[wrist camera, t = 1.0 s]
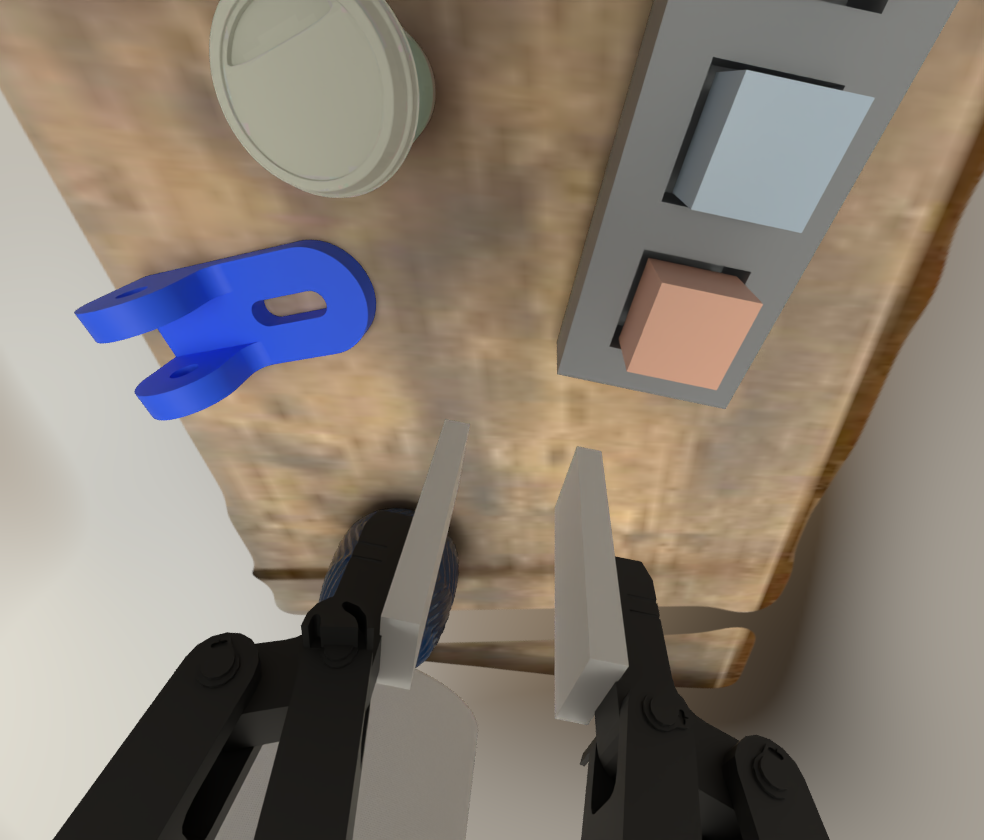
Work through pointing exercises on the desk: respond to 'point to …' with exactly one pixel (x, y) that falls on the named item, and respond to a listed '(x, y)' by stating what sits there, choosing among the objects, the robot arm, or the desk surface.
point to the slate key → (767, 148)
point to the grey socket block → (667, 136)
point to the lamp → (395, 739)
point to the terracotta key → (686, 323)
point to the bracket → (235, 319)
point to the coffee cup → (321, 89)
